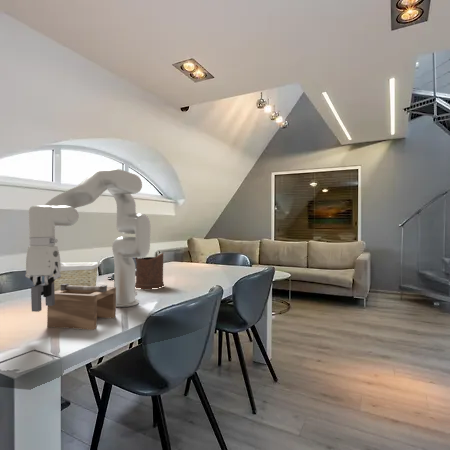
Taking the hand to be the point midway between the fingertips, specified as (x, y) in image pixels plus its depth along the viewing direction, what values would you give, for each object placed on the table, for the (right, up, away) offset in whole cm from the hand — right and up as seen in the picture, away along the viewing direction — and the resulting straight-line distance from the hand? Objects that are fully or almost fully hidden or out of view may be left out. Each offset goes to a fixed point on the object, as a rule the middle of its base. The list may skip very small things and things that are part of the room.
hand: (43, 295), depth 107 cm
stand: (+8, -13, +13) cm, 20 cm away
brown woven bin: (+14, -13, +82) cm, 84 cm away
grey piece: (0, -4, 0) cm, 4 cm away
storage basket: (-25, -13, +73) cm, 78 cm away
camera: (-13, -13, +104) cm, 105 cm away
